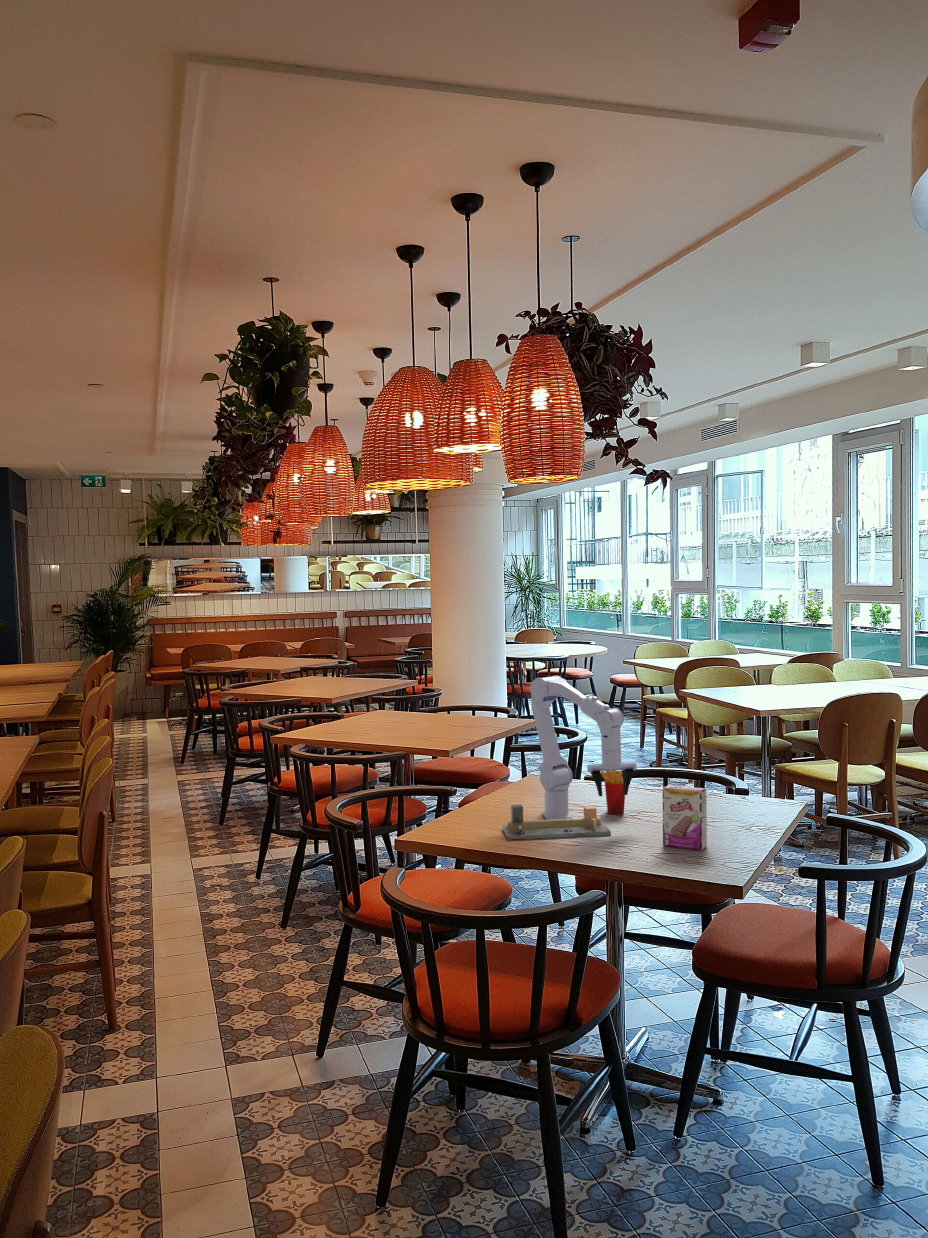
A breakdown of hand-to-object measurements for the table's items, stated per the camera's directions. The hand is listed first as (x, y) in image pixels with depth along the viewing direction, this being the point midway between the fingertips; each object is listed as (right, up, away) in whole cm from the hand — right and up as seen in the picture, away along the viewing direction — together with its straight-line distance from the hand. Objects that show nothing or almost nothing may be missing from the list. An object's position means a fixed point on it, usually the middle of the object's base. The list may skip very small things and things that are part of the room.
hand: (612, 795), depth 284 cm
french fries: (+3, -9, +18) cm, 21 cm away
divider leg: (-6, -9, -2) cm, 11 cm away
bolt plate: (-17, -10, -4) cm, 21 cm away
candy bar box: (+16, -11, -22) cm, 29 cm away
